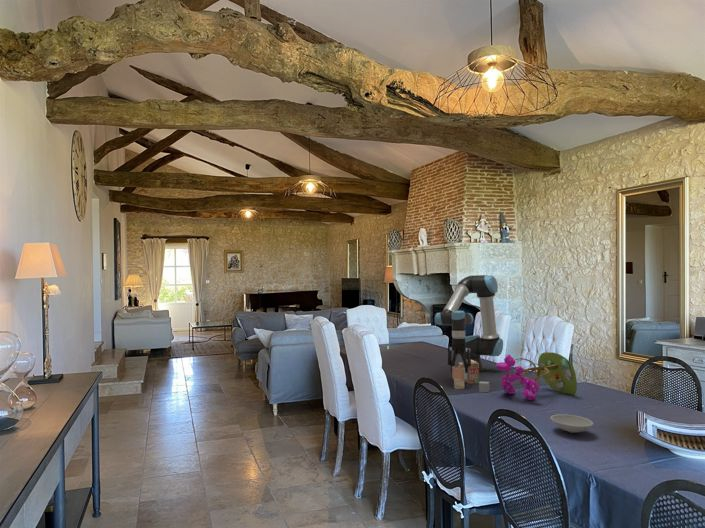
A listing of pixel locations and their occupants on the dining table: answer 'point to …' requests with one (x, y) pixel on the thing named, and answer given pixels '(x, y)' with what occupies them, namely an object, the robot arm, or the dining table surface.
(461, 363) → the stack of blocks
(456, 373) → the terracotta cube
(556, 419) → the dish
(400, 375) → the dining table surface
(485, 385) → the grey cube
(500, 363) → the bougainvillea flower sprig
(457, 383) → the beech block
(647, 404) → the dining table surface
